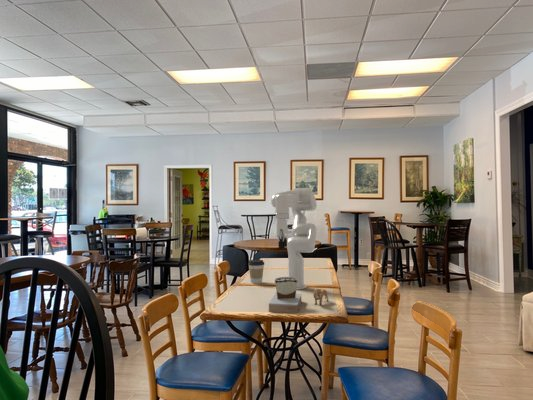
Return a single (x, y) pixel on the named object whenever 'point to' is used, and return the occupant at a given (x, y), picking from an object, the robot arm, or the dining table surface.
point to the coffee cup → (256, 270)
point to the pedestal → (285, 304)
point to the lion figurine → (320, 295)
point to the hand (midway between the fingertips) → (282, 247)
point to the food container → (286, 287)
